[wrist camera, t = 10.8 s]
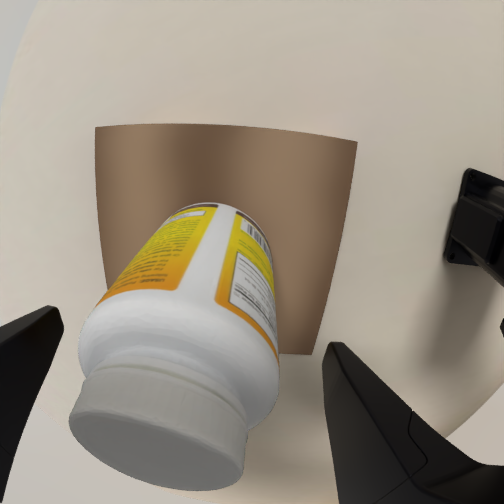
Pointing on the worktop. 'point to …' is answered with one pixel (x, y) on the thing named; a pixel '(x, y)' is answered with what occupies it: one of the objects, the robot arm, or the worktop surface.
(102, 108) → the worktop surface
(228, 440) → the supplement bottle
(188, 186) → the walnut plinth
